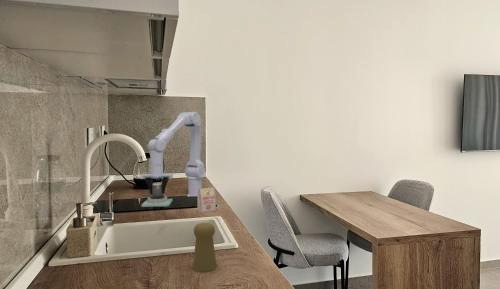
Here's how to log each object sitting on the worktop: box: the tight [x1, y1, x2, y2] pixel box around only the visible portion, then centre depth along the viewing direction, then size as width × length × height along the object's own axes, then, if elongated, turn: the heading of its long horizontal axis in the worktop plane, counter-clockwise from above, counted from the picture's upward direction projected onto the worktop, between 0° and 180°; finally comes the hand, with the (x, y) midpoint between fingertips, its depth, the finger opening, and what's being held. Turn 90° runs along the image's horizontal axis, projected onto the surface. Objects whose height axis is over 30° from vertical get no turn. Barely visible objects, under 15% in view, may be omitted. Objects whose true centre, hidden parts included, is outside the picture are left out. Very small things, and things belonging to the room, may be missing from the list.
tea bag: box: [196, 187, 217, 214], centre depth 146 cm, size 4×7×10 cm, turn 118°
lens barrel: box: [151, 181, 164, 199], centre depth 162 cm, size 5×5×8 cm
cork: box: [192, 222, 218, 273], centre depth 86 cm, size 6×6×11 cm
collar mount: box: [147, 195, 168, 204], centre depth 162 cm, size 9×9×2 cm
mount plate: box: [141, 198, 174, 208], centre depth 162 cm, size 12×12×1 cm
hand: (157, 193), depth 162 cm, fingers closed on lens barrel, 5 cm apart
